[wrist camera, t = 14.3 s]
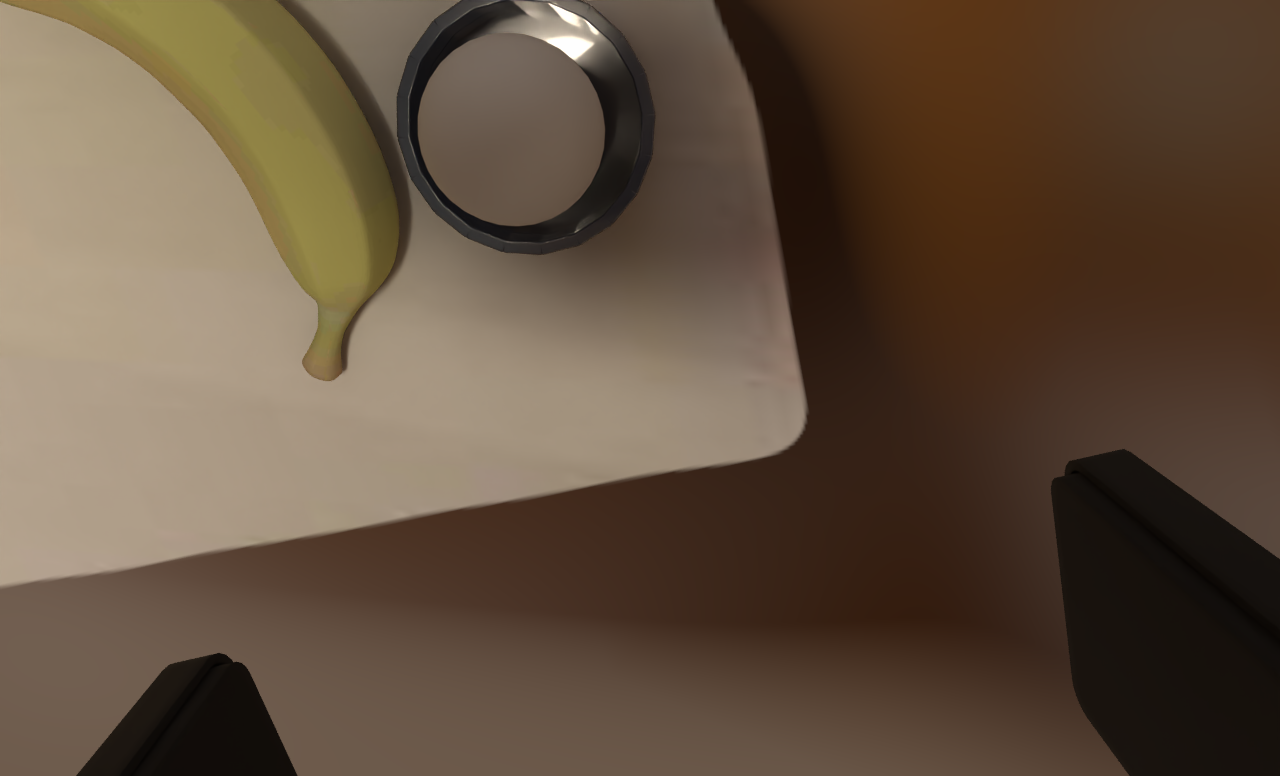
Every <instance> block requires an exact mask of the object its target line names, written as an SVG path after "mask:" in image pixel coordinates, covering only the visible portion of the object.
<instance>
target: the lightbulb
mask: <svg viewBox="0 0 1280 776" xmlns="http://www.w3.org/2000/svg"><path fill="white" fill-rule="evenodd" d="M418 139H419V144H420V149H421V154H422V156H423V159H424V162H425V164H426V167H427V169H428V171H429V173H430V175H431V176H432V178H433V180H434V181H435V183H436V184H437V186H438V187H439V188H440V190H441V191H442V192H443V193H444V194H445V195H446V196H447V197H448V198H449V199H450V200H451V201H452V202H453V203H454V204H456V205H457V206H458V207H460V208H461V209H462V210H464V211H465V212H467V213H469V214H471V215H473V216H475V217H477V218H479V219H481V220H484V221H487V222H491V223H495V224H498V225H507V226H524V225H533V224H537V223H540V222H543V221H546V220H549V219H552V218H554V217H555V216H557V215H559V214H561V213H562V212H564V211H566V210H567V209H568V208H570V207H571V206H572V205H573V204H574V203H575V202H576V201H577V200H579V199H580V198H581V196H582V195H583V194H584V192H585V191H586V190H587V188H588V187H589V186H590V184H591V182H592V180H593V178H594V176H595V174H596V172H597V170H598V168H599V166H600V162H601V158H602V154H603V150H604V140H605V125H604V117H603V111H602V108H601V104H600V101H599V98H598V95H597V93H596V91H595V89H594V87H593V85H592V83H591V82H590V80H589V78H588V76H587V75H586V74H585V73H584V71H583V70H582V69H581V68H580V66H579V65H578V64H577V63H576V62H575V61H574V60H573V59H572V58H570V57H569V56H568V55H567V54H566V53H564V52H563V51H562V50H561V49H559V48H557V47H555V46H554V45H552V44H550V43H548V42H546V41H544V40H542V39H539V38H536V37H532V36H529V35H526V34H518V33H507V32H504V33H496V34H489V35H485V36H482V37H479V38H476V39H473V40H470V41H468V42H467V43H465V44H463V45H462V46H460V47H459V48H457V49H455V50H454V51H452V52H451V53H450V54H449V55H448V56H447V57H446V58H445V59H444V60H443V61H442V62H441V63H440V64H439V66H438V67H437V69H436V70H435V72H434V73H433V75H432V76H431V77H430V79H429V81H428V83H427V86H426V88H425V91H424V93H423V95H422V98H421V103H420V108H419V113H418Z"/></svg>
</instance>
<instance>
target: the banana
mask: <svg viewBox="0 0 1280 776" xmlns="http://www.w3.org/2000/svg"><path fill="white" fill-rule="evenodd" d="M0 2H3V3H6V4H9V5H12V6H15V7H19V8H22V9H26V10H29V11H33V12H36V13H40V14H43V15H46V16H49V17H52V18H55V19H58V20H61V21H63V22H66V23H68V24H71V25H73V26H75V27H77V28H79V29H81V30H83V31H85V32H87V33H89V34H91V35H92V36H94V37H96V38H98V39H100V40H102V41H104V42H105V43H107V44H109V45H111V46H112V47H114V48H116V49H117V50H119V51H120V52H122V53H123V54H125V55H126V56H127V57H129V58H130V59H132V60H133V61H134V62H136V63H137V64H138V65H140V66H141V67H142V68H144V69H145V70H146V71H147V72H149V73H150V74H151V75H152V76H153V77H155V78H156V79H157V80H158V81H159V82H160V83H161V84H162V85H163V86H164V87H165V88H166V89H167V90H169V91H170V92H171V93H172V94H173V95H174V96H175V97H176V98H177V99H178V100H179V101H180V102H181V103H182V104H183V105H184V106H185V107H186V108H187V109H188V110H189V111H190V112H191V113H192V114H193V115H194V116H195V117H196V118H197V120H198V121H199V122H200V123H201V124H202V125H203V126H204V127H205V128H206V130H207V131H208V132H209V133H210V135H211V136H212V137H213V139H214V140H215V141H216V143H217V144H218V145H219V147H220V148H221V150H222V151H223V152H224V154H225V155H226V157H227V158H228V160H229V161H230V162H231V164H232V165H233V167H234V168H235V170H236V171H237V173H238V174H239V176H240V177H241V179H242V181H243V182H244V184H245V186H246V187H247V189H248V191H249V193H250V195H251V197H252V199H253V201H254V203H255V205H256V207H257V209H258V211H259V213H260V215H261V217H262V219H263V221H264V223H265V226H266V228H267V230H268V232H269V234H270V236H271V238H272V240H273V242H274V244H275V246H276V248H277V250H278V252H279V253H280V255H281V257H282V259H283V261H284V262H285V264H286V265H287V267H288V268H289V270H290V272H291V273H292V275H293V276H294V278H295V279H296V281H297V282H298V283H299V285H300V286H301V287H302V289H303V290H304V291H305V292H306V293H308V294H309V295H310V296H311V297H312V298H313V299H315V300H316V302H317V304H318V329H317V332H316V335H315V337H314V340H313V342H312V343H311V345H310V347H309V349H308V351H307V353H306V354H305V356H304V358H303V360H302V364H303V366H304V368H305V370H306V371H307V372H308V373H309V374H310V375H311V376H313V377H314V378H317V379H320V380H324V381H331V380H334V379H336V378H337V377H338V376H339V375H340V374H341V373H342V361H341V345H342V339H343V335H344V332H345V330H346V328H347V326H348V325H349V323H350V321H351V320H352V318H353V317H354V315H355V314H356V312H357V311H358V309H359V308H360V307H361V306H362V304H363V303H364V302H365V301H366V300H367V299H368V298H369V297H370V296H371V295H372V294H373V293H374V292H375V291H376V290H377V289H378V288H379V287H380V286H381V284H382V283H383V282H384V280H385V279H386V277H387V276H388V274H389V272H390V271H391V268H392V266H393V264H394V261H395V258H396V253H397V248H398V240H399V213H398V206H397V200H396V196H395V192H394V188H393V184H392V181H391V178H390V175H389V172H388V169H387V166H386V163H385V161H384V158H383V155H382V153H381V150H380V148H379V145H378V143H377V141H376V138H375V136H374V134H373V132H372V130H371V128H370V126H369V124H368V122H367V120H366V118H365V116H364V114H363V113H362V111H361V109H360V107H359V106H358V104H357V102H356V100H355V99H354V97H353V95H352V94H351V92H350V90H349V89H348V87H347V85H346V84H345V82H344V80H343V79H342V77H341V76H340V74H339V73H338V71H337V70H336V68H335V67H334V65H333V64H332V62H331V61H330V60H329V58H328V57H327V56H326V54H325V53H324V52H323V51H322V49H321V48H320V47H319V46H318V45H317V43H316V42H315V41H314V40H313V39H312V37H311V36H310V35H309V34H308V33H307V32H306V30H305V29H304V28H303V27H302V26H301V25H300V24H299V23H298V22H297V21H296V19H295V18H294V17H293V16H292V15H291V14H290V13H289V12H288V11H287V10H286V9H285V8H284V7H283V6H282V5H280V4H279V3H278V2H277V1H276V0H0Z"/></svg>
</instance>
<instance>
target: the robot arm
mask: <svg viewBox="0 0 1280 776" xmlns="http://www.w3.org/2000/svg"><path fill="white" fill-rule="evenodd" d="M1051 495H1052V503H1053V513H1054V521H1055V530H1056V539H1057V548H1058V557H1059V566H1060V575H1061V584H1062V593H1063V601H1064V610H1065V619H1066V628H1067V636H1068V646H1069V654H1070V664H1071V673H1072V680H1073V686H1074V690H1075V693H1076V696H1077V698H1078V701H1079V704H1080V705H1081V708H1082V710H1083V712H1084V713H1085V715H1086V716H1087V718H1088V719H1089V721H1090V722H1091V724H1092V725H1093V726H1094V728H1095V729H1096V730H1097V732H1098V733H1099V734H1100V736H1101V737H1102V738H1103V740H1104V741H1105V743H1106V744H1107V745H1108V747H1109V748H1110V750H1111V751H1112V752H1113V754H1114V755H1115V756H1116V758H1117V759H1118V761H1119V762H1120V763H1121V764H1122V766H1123V767H1124V769H1125V770H1126V771H1127V773H1128V774H1129V775H1130V776H1280V559H1279V558H1277V557H1276V556H1275V555H1273V554H1272V553H1270V552H1269V551H1268V550H1266V549H1265V548H1263V547H1262V546H1261V545H1259V544H1258V543H1256V542H1255V541H1254V540H1252V539H1251V538H1249V537H1248V536H1247V535H1245V534H1244V533H1242V532H1241V531H1240V530H1238V529H1237V528H1236V527H1234V526H1233V525H1231V524H1230V523H1229V522H1227V521H1226V520H1224V519H1223V518H1221V517H1220V516H1219V515H1217V514H1216V513H1214V512H1213V511H1212V510H1210V509H1209V508H1207V507H1206V506H1205V505H1203V504H1202V503H1201V502H1199V501H1198V500H1196V499H1195V498H1194V497H1192V496H1191V495H1190V494H1188V493H1187V492H1185V491H1184V490H1183V489H1181V488H1180V487H1178V486H1177V485H1175V484H1174V483H1173V482H1171V481H1170V480H1169V479H1167V478H1166V477H1164V476H1163V475H1162V474H1160V473H1159V472H1157V471H1156V470H1155V469H1153V468H1152V467H1151V466H1149V465H1148V464H1146V463H1145V462H1143V461H1142V460H1141V459H1139V458H1138V457H1136V456H1135V455H1134V454H1132V453H1131V452H1129V451H1127V450H1125V449H1122V450H1117V451H1112V452H1108V453H1103V454H1099V455H1094V456H1090V457H1086V458H1082V459H1077V460H1072V461H1069V462H1068V464H1067V465H1066V469H1065V476H1062V477H1057V478H1054V479H1053V481H1052V485H1051ZM77 776H297V774H296V772H295V769H294V767H293V765H292V763H291V761H290V759H289V757H288V754H287V752H286V750H285V748H284V746H283V743H282V742H281V739H280V737H279V735H278V733H277V731H276V728H275V726H274V724H273V722H272V720H271V718H270V715H269V714H268V711H267V709H266V707H265V705H264V702H263V700H262V698H261V696H260V694H259V692H258V689H257V687H256V685H255V683H254V681H253V679H252V677H251V674H250V672H249V671H248V669H247V668H246V667H245V666H244V665H243V664H242V663H239V662H233V661H232V660H231V659H230V658H229V657H228V656H227V655H225V654H221V653H217V654H213V655H208V656H204V657H199V658H195V659H190V660H186V661H182V662H177V663H174V664H170V665H168V666H167V667H166V668H165V669H164V670H163V671H162V672H161V673H160V675H159V676H158V677H157V678H156V680H155V681H154V682H153V683H152V684H151V685H150V687H149V688H148V689H147V690H146V691H145V693H144V694H143V695H142V696H141V698H140V699H139V700H138V701H137V703H136V704H135V705H134V706H133V707H132V709H131V710H130V711H129V712H128V713H127V715H126V716H125V717H124V718H123V719H122V721H121V722H120V723H119V724H118V726H117V727H116V728H115V729H114V730H113V732H112V733H111V734H110V735H109V737H108V738H107V739H106V740H105V742H104V743H103V744H102V745H101V746H100V748H99V749H98V750H97V751H96V752H95V754H94V755H93V756H92V757H91V759H90V760H89V761H88V762H87V763H86V765H85V766H84V767H83V768H82V769H81V771H80V772H79V773H78V774H77Z"/></svg>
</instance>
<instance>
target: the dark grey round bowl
mask: <svg viewBox="0 0 1280 776" xmlns="http://www.w3.org/2000/svg"><path fill="white" fill-rule="evenodd" d="M504 32H507V33H518V34H526V35H529V36H532V37H536V38H539V39H542V40H544V41H546V42H548V43H550V44H552V45H554V46H555V47H557V48H559V49H561V50H562V51H563V52H564V53H566V54H567V55H568V56H569V57H570V58H572V59H573V60H574V61H575V62H576V63H577V64H578V65H579V66H580V68H581V69H582V70H583V71H584V73H585V74H586V75H587V76H588V78H589V80H590V82H591V83H592V85H593V87H594V89H595V91H596V93H597V95H598V98H599V101H600V104H601V108H602V111H603V117H604V125H605V140H604V150H603V154H602V158H601V162H600V166H599V168H598V170H597V172H596V174H595V176H594V178H593V180H592V182H591V184H590V186H589V187H588V188H587V190H586V191H585V192H584V194H583V195H582V196H581V198H580V199H579V200H577V201H576V202H575V203H574V204H573V205H572V206H571V207H570V208H568V209H567V210H566V211H564V212H562V213H561V214H559V215H557V216H555V217H554V218H552V219H549V220H546V221H543V222H540V223H537V224H533V225H524V226H507V225H498V224H495V223H491V222H487V221H484V220H481V219H479V218H477V217H475V216H473V215H471V214H469V213H467V212H465V211H464V210H462V209H461V208H460V207H458V206H457V205H456V204H454V203H453V202H452V201H451V200H450V199H449V198H448V197H447V196H446V195H445V194H444V193H443V192H442V191H441V190H440V188H439V187H438V186H437V184H436V183H435V181H434V180H433V178H432V176H431V175H430V173H429V171H428V169H427V167H426V164H425V162H424V159H423V156H422V154H421V149H420V144H419V139H418V113H419V108H420V103H421V98H422V95H423V93H424V91H425V88H426V86H427V83H428V81H429V79H430V77H431V76H432V75H433V73H434V72H435V70H436V69H437V67H438V66H439V64H440V63H441V62H442V61H443V60H444V59H445V58H446V57H447V56H448V55H449V54H450V53H451V52H452V51H454V50H455V49H457V48H459V47H460V46H462V45H463V44H465V43H467V42H468V41H470V40H473V39H476V38H479V37H482V36H485V35H489V34H496V33H504ZM397 95H398V96H397V137H398V142H399V145H400V148H401V151H402V154H403V157H404V160H405V163H406V166H407V169H408V172H409V175H410V177H411V180H412V181H413V183H414V184H415V186H416V187H417V189H418V190H419V191H420V193H421V194H422V196H423V197H424V199H425V200H426V202H427V203H428V204H429V206H430V207H431V209H432V210H433V211H434V212H435V214H437V215H438V216H439V217H440V218H442V219H443V220H444V221H445V222H447V223H448V224H449V225H450V226H452V227H453V228H454V229H456V230H457V231H458V232H459V233H461V234H462V235H463V236H464V237H467V238H468V239H470V240H473V241H475V242H478V243H480V244H483V245H485V246H488V247H490V248H493V249H496V250H498V251H501V252H505V253H519V254H533V255H544V254H548V253H552V252H556V251H560V250H564V249H568V248H572V247H576V246H579V245H581V244H583V243H584V242H586V241H588V240H589V239H591V238H592V237H594V236H595V235H597V234H599V233H600V232H602V231H603V230H605V229H606V228H608V227H610V226H611V225H612V224H613V223H614V222H615V221H616V220H617V218H618V217H619V216H620V215H621V214H622V212H623V211H624V210H625V209H626V207H627V206H628V205H629V204H630V203H631V201H632V200H633V199H634V198H635V196H636V195H637V193H638V191H639V189H640V186H641V184H642V181H643V179H644V176H645V174H646V171H647V169H648V166H649V164H650V161H651V158H652V155H653V141H654V127H655V110H654V106H653V102H652V97H651V93H650V89H649V84H648V80H647V76H646V73H645V70H644V68H643V67H642V65H641V63H640V62H639V60H638V58H637V57H636V55H635V53H634V51H633V50H632V48H631V46H630V45H629V43H628V41H627V40H626V38H625V36H624V35H623V34H622V33H621V32H620V31H619V30H618V29H617V28H616V27H615V26H614V25H612V24H611V23H610V22H609V21H608V20H607V19H606V18H605V17H604V16H602V15H601V14H600V13H599V12H598V11H597V10H596V9H595V8H593V7H592V6H590V5H589V4H587V3H585V2H583V1H580V0H461V1H460V2H458V3H457V4H455V5H454V6H453V7H451V8H450V9H448V10H447V11H446V12H444V13H443V14H441V15H440V16H438V17H437V18H436V19H434V21H432V23H431V24H430V25H429V27H428V28H427V30H426V31H425V33H424V34H423V35H422V37H421V38H420V40H419V41H418V42H417V44H416V45H415V47H414V48H413V50H412V51H411V52H410V55H409V56H408V59H407V62H406V66H405V69H404V73H403V76H402V79H401V83H400V86H399V89H398V93H397Z"/></svg>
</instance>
